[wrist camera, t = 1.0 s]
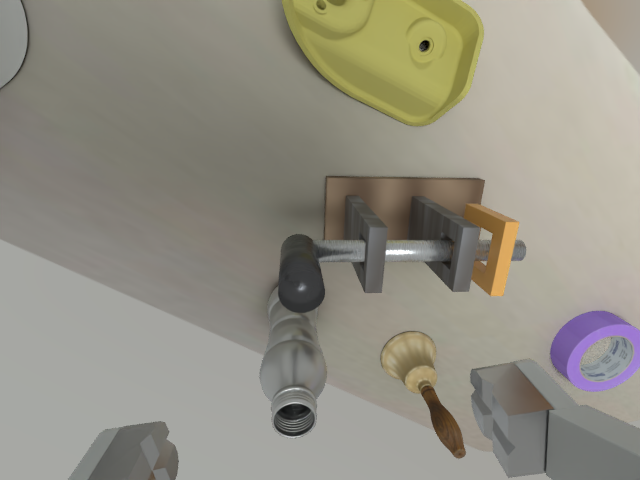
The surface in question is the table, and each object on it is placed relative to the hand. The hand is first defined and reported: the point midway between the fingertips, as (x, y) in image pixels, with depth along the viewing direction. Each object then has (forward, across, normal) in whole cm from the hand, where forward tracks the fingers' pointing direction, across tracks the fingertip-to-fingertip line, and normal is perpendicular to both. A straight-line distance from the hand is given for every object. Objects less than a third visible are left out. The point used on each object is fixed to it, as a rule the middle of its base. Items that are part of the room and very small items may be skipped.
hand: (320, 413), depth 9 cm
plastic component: (+35, -10, -15) cm, 39 cm away
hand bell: (+35, -10, +27) cm, 45 cm away
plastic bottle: (+34, +5, +14) cm, 37 cm away
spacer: (+24, -16, +7) cm, 29 cm away
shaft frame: (+35, -11, +6) cm, 37 cm away
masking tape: (+37, -38, +31) cm, 61 cm away
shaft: (+24, -8, +5) cm, 25 cm away
